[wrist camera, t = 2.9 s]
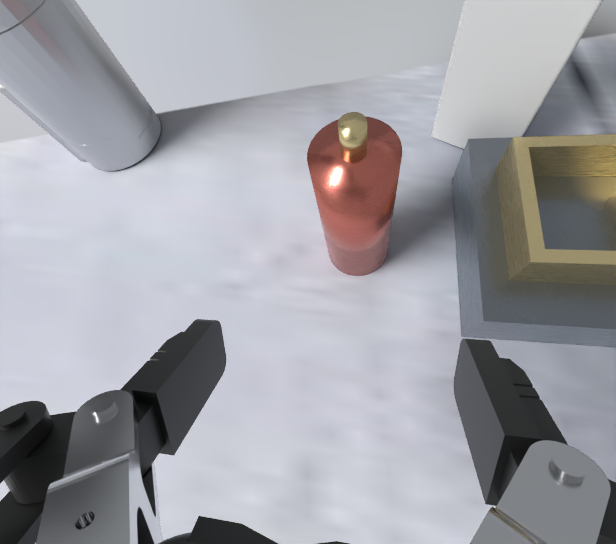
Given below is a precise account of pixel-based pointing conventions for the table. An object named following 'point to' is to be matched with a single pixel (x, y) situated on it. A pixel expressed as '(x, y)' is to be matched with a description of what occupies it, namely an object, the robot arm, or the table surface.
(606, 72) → the table surface
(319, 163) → the red bottle
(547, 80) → the milk carton
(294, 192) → the table surface
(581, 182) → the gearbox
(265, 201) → the table surface
